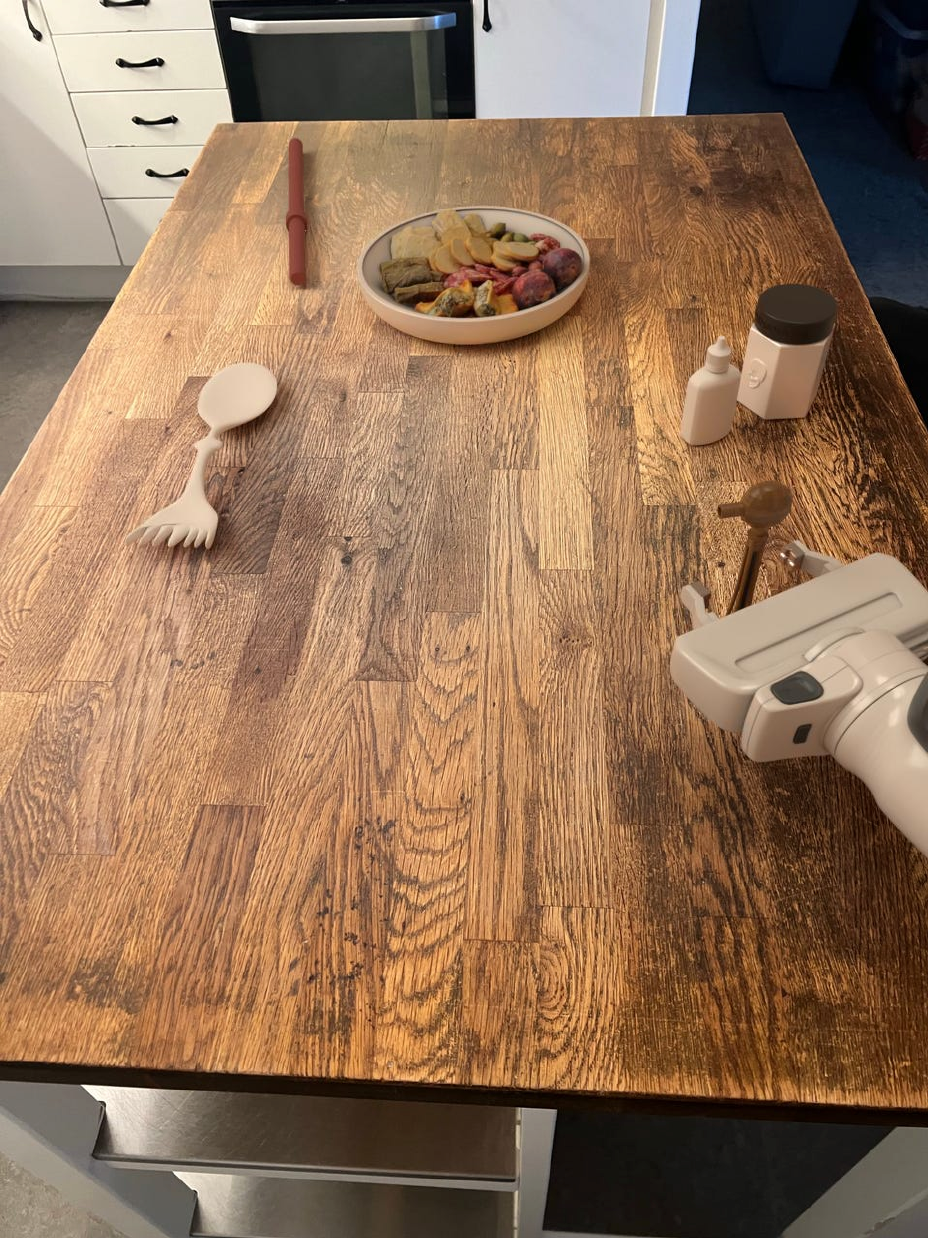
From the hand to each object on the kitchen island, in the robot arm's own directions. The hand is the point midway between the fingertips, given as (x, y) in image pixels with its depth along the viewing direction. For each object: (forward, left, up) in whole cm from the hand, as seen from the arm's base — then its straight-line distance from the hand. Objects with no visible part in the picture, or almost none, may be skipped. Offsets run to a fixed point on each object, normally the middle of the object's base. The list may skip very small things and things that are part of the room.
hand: (738, 568), depth 76 cm
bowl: (+21, -63, -11) cm, 68 cm away
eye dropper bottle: (-4, -31, -11) cm, 34 cm away
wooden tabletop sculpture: (0, +1, -11) cm, 11 cm away
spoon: (+50, -30, -11) cm, 59 cm away
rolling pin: (+47, -89, -11) cm, 101 cm away
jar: (-13, -37, -11) cm, 41 cm away
